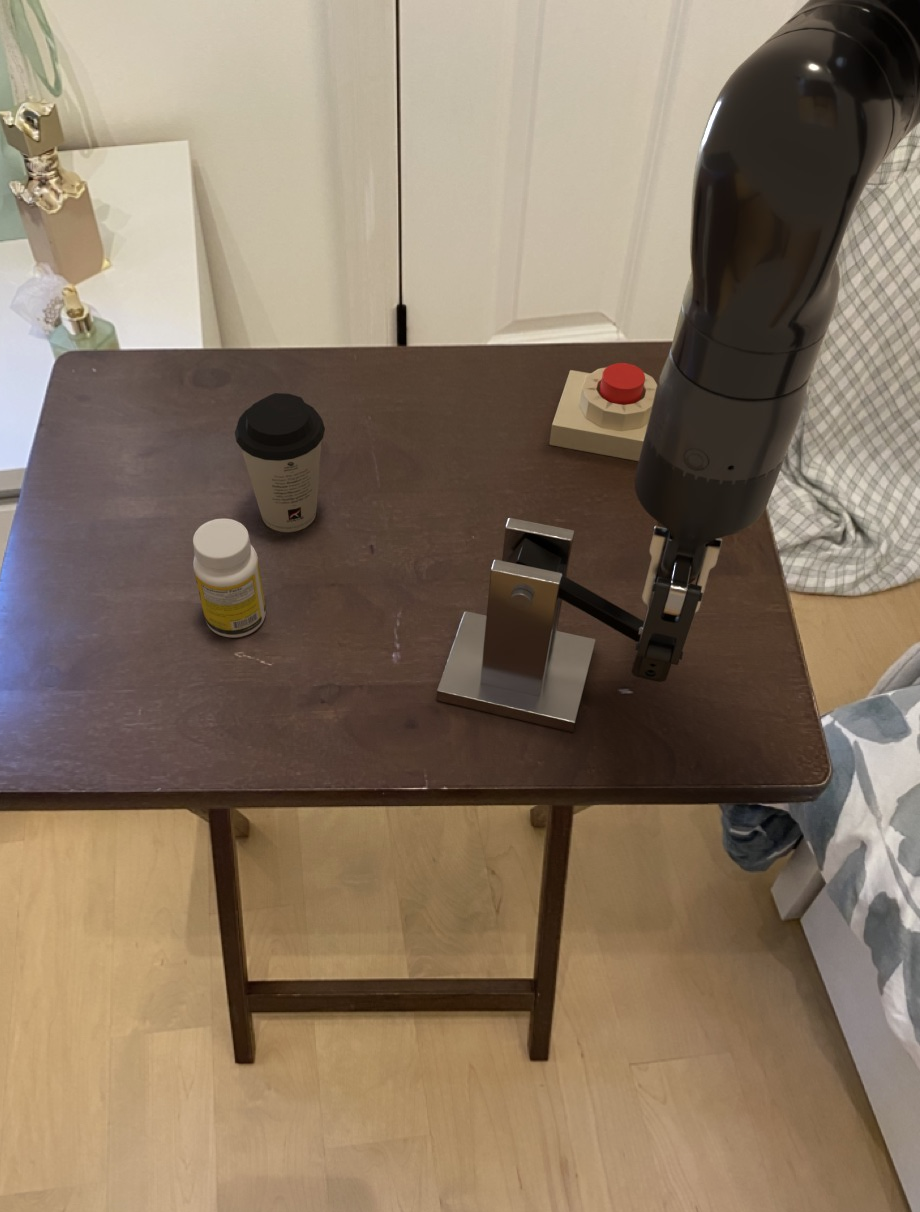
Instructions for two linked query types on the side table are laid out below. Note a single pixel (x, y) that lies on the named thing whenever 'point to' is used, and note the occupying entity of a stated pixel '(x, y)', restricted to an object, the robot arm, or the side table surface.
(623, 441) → the control block
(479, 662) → the bracket
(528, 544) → the lever
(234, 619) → the supplement bottle
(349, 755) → the side table surface
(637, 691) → the side table surface
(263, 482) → the coffee cup
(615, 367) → the button
